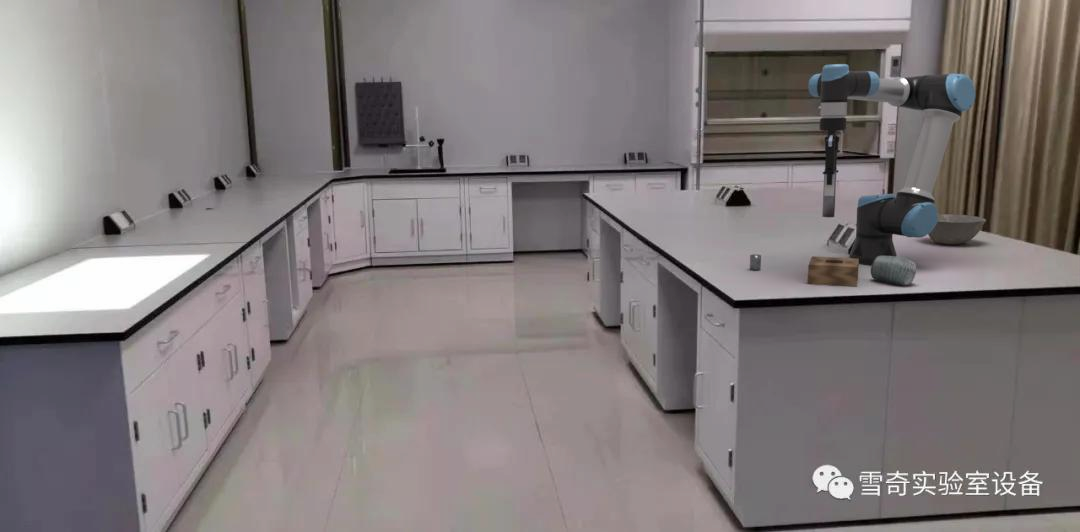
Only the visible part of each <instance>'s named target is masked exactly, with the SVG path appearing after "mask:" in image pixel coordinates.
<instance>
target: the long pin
mask: <svg viewBox="0 0 1080 532" xmlns="http://www.w3.org/2000/svg"><path fill="white" fill-rule="evenodd" d="M823 172H825V170H824V171H823ZM834 174H835V180H834V196H824V188H825V174H823V190H822V191H823V192H822V194H823V195H822V216H821V217H822V218H835V210H836V209H835V208H836V192H837V191H836V189H837V188H836V187H837V173H836V171H835V173H834Z"/></svg>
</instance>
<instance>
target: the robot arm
mask: <svg viewBox="0 0 1080 532" xmlns="http://www.w3.org/2000/svg"><path fill="white" fill-rule="evenodd" d="M807 88H808V92H809V94H810V95H811V96H813V97H814V98H820V105H819V106H818V108H817V109H818V110H820V112H819V113H820V114H819V115H820V116H821V117H820V119H819V130H820V131H823V132H824V131H827V135H826V136H825V137H824V143H825V144H824V145H825V146H824V151H825V157H824V158H825V159H824V160H825V161H824V171H825V172H824V171H822V175H824V174H825V188H824V187H823V189H824V196H834V180H835V174H834V173H835V171H836V174H837V173H839V170H838V168H837V163H838V162H837V161H838V159H837V158H838V151H839V142H840V136H838V131H845V130H846V129H847V118H846V117H845V116H847V115H848V100H857V101H865V102H867V101H868V102H879V103H888V104H889V106H892V107H899V108H904V109H905V108H906V109H910V110H916V111H921V113H922V115H923V116H924V121H923V125H922V128H921V131H920V135H919V138H918V141H917V143H916V147H915V151H914V153H913V156H912V159H911V163H910V167H909V170H908V173H907V176H906V180H905V184H904V185H903V186H904V187H903V188H902V189H900V190H898V191H897V193H896V194H894V193H886V194H885V193H884V194H871V195H868V194H867V195H862V196H860V197H859V198H858V200H857V208H856V227H855V230H856V231H855V232H856V233H855V240H854V243H853V244H852V247H851V250H850V251H849V257H848V258H856V259H859V264H862V265H870V266H872V263H873V261H874V260H875V258H876V257H878V256H896V257H898V255H897V252H896V247H895V246H894V245H895V244H894V240H893V236H894V235H895V236H896V235H897V236H902V237H906V238H917V239H918V238H924V237H926V236H927V235H928V234H929V233H930V232H931V231H932V230H933V229H934V227H935V226H936V224H937V221H938V214H939V213H938V212H939V210H938V207H937V206H936V205H935V202H936V199H935V198H934V196H933V190H934V187H935V184H936V181H937V179H938V175H939V172H940V168H941V166H942V162H943V158H944V155H945V152H946V148H947V145H948V143H949V139H950V135H951V132H952V130H953V125H954V124H955V123H957V122H958V121H960V120H961V118H962V114H963V112H966V111H968V110H970V109H971V108H972V107H973V105H974V103H975V99H976V87H975V86H974V82H973V80H972V79H971V78H970V77H969V76H968V75H967V74H965V73H964V74H963V73H953V72H952V73H947V74H945V73H944V74H924V75H918V76H917V75H916V76H906V77H903V76H898V77H895V78H892V79H888V78H880V76H879V75H878V74H877V73H876V72H875V71H871V70H870V71H869V70H855V71H854V70H853V71H852V70H850V67H849V64H846V63H837V64H836V63H835V64H834V63H833V64H825V65H824V66H823V67H822V71H821V73H816V74H813V76H811V77H810V79H809V80H808V87H807Z"/></svg>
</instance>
